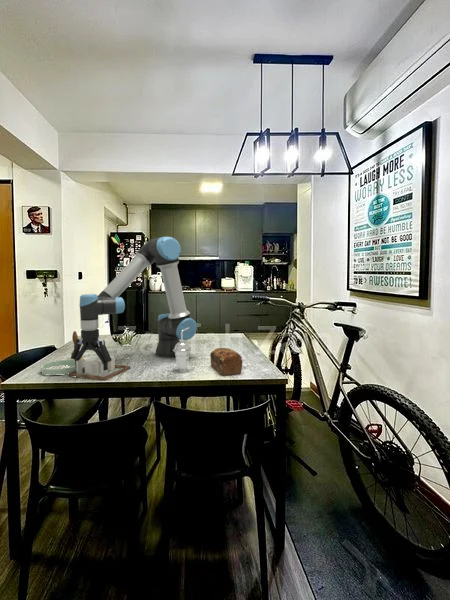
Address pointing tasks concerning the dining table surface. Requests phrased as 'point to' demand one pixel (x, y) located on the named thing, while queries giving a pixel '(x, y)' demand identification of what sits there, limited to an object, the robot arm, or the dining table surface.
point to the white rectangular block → (91, 368)
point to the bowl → (59, 371)
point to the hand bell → (75, 344)
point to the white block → (99, 365)
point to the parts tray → (101, 376)
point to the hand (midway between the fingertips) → (91, 375)
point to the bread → (226, 361)
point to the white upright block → (111, 363)
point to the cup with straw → (182, 354)
